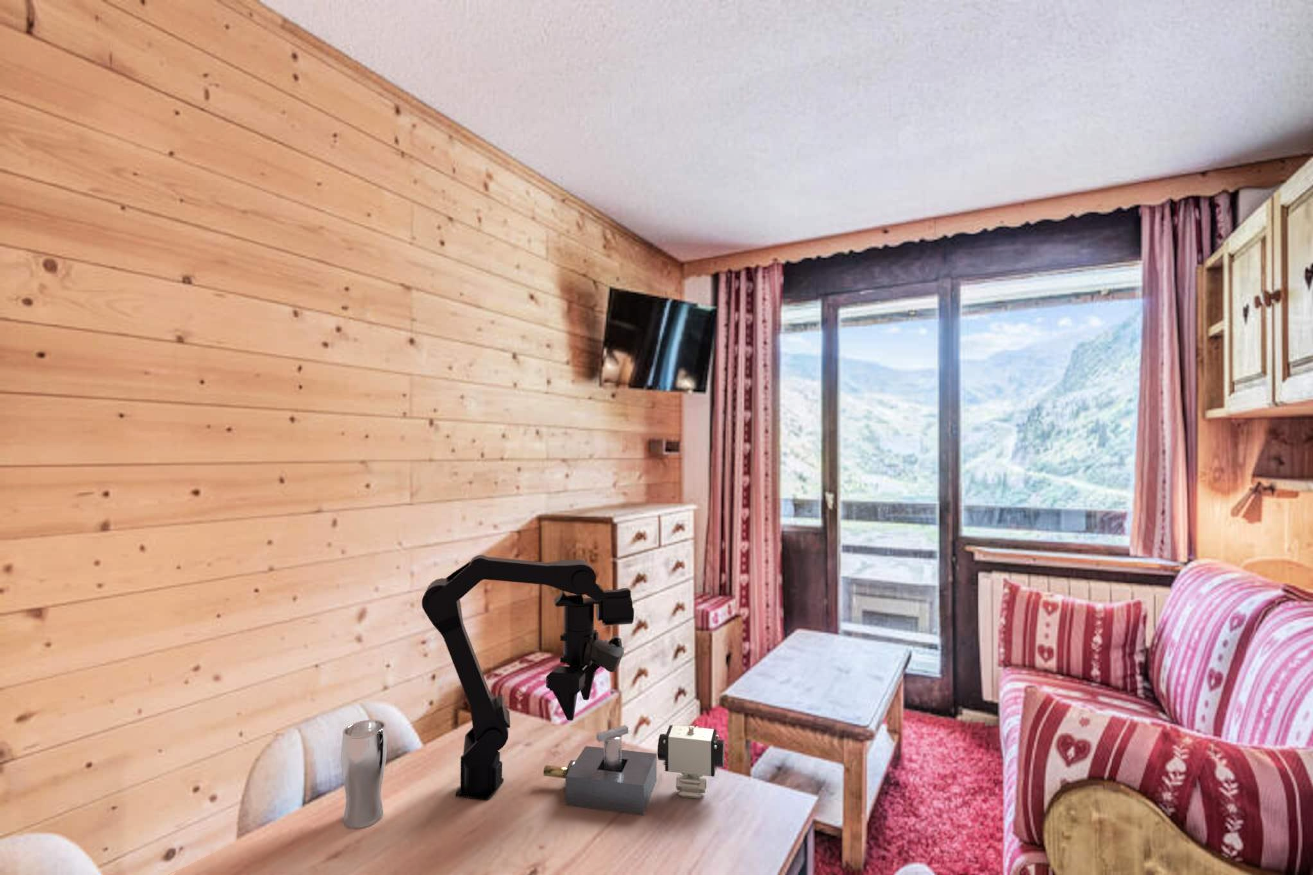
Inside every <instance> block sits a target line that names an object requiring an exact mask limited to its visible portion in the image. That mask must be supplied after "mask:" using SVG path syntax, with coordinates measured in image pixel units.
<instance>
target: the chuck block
mask: <svg viewBox="0 0 1313 875" xmlns="http://www.w3.org/2000/svg"><path fill="white" fill-rule="evenodd" d="M657 759H658V755H657V753H654V752H646V751H645V752H644V751H637V750H636V751H634V750H625V749H622V772H613V771H604V747H598V746H589V745H585V746H584V748H582V751H581V753H580V754H579V755H578V757H577V759H576V760H575V759H571V760H569V762H568V765H567V767H565V766H560V765H559V766H557V765H548V764H546V765H544V768H543V777H547V778H548V777H549V778H557V779H565V806H570V807H577V808H583V809H584V808H586V809H593V810H601V811H607V812H615V813H618V812H619V813H624V814H625V813H626V814H632V815H639V816H640V815H642V816H644V815H645V813H646V809H647V807H648V804H649V802H650V799H651V797H652V794H653V791H654V789H655V786H656V783H657V775H658V774H657V773H658V772H657V769H658V768H657V767H658V766H657V764H658V763H657V761H658V760H657Z"/></svg>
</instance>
